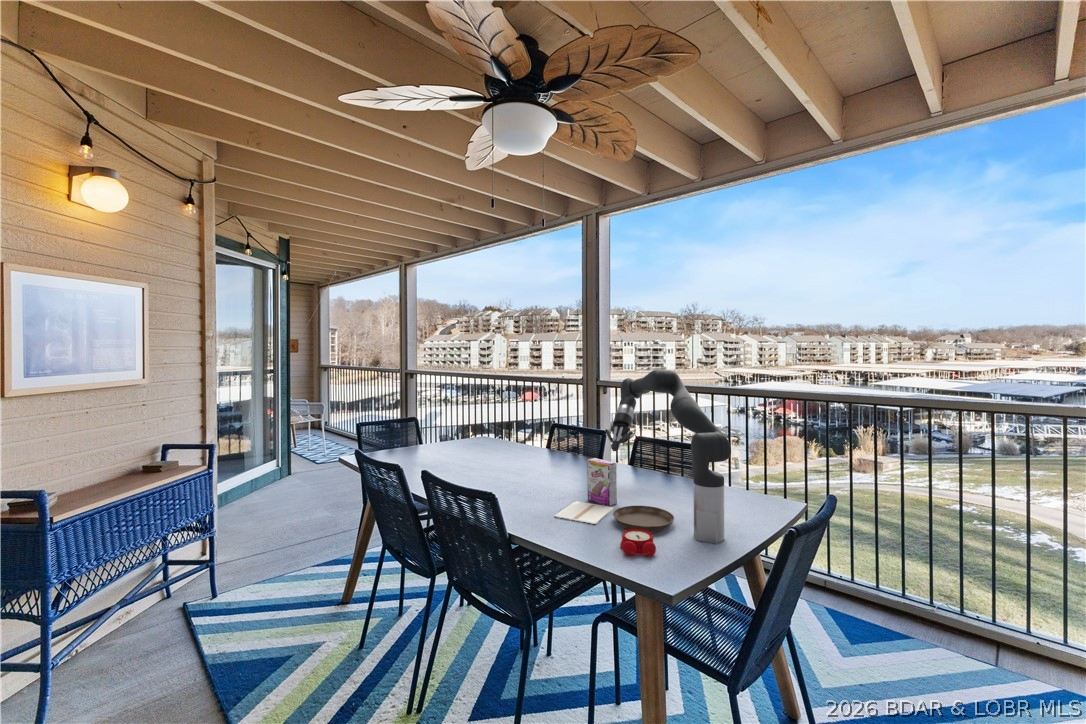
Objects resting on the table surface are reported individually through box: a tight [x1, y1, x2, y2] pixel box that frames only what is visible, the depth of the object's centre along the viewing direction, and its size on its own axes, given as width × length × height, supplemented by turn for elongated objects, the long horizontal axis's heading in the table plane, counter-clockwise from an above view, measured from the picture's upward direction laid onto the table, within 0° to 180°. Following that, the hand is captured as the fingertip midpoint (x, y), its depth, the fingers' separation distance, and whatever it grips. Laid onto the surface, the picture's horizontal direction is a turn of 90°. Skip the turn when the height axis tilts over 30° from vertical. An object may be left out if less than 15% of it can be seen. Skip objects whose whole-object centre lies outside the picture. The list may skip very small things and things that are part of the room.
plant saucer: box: [612, 505, 675, 533], centre depth 161 cm, size 21×21×3 cm
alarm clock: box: [619, 529, 657, 557], centre depth 140 cm, size 10×6×15 cm
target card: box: [554, 500, 615, 525], centre depth 172 cm, size 18×16×1 cm
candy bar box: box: [586, 457, 618, 507], centre depth 184 cm, size 11×5×16 cm, turn 44°
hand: (614, 450), depth 195 cm, fingers closed
